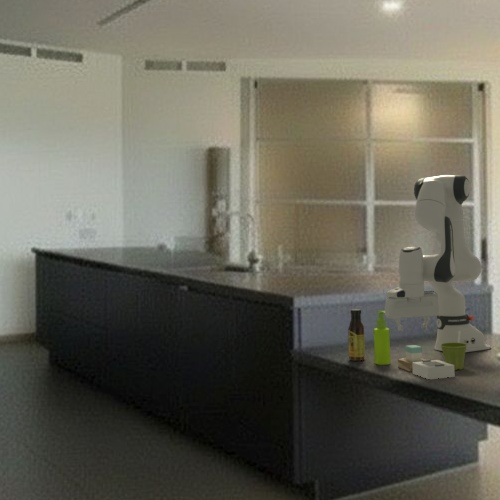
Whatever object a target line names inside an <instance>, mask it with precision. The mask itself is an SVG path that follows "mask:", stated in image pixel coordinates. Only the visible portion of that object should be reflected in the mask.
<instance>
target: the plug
mask: <svg viewBox="0 0 500 500" xmlns="http://www.w3.org/2000/svg"><path fill="white" fill-rule="evenodd" d="M404 349H405V350H404V352H405V358H406V360H407V361H410V362H417V361H422V358H423V348H422V346H419V345H416V344H412V345H405V348H404Z"/></svg>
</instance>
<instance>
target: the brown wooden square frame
mask: <svg viewBox="0 0 500 500" xmlns="http://www.w3.org/2000/svg"><path fill="white" fill-rule="evenodd" d="M422 360H427V359H425V358H423V357H422ZM417 362H421V361H417ZM397 366H398V368H399V369H402V370H405V371H407V372H413V367H412V362H410V361H407V360H406V357H403V358H398V359H397Z"/></svg>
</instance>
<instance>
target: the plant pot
mask: <svg viewBox="0 0 500 500" xmlns="http://www.w3.org/2000/svg"><path fill="white" fill-rule="evenodd" d="M440 346H441V347H442V350H443V351H442V355H443V362H446V363H449V364H452V365H454V371H456V370H463V369H464V365H465V357H466V356H465V355H466V352H465V350H466V347H467V344H465V343H443V344H440Z"/></svg>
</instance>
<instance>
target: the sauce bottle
mask: <svg viewBox="0 0 500 500" xmlns="http://www.w3.org/2000/svg"><path fill="white" fill-rule="evenodd" d="M361 315H362V309H360V308H352V309H350V323H349V325H348V329H347V333H348V334H347V337H348V338H347V341H348V342H347V343H348V344H347V345H348V360H349V361H353V362H360V361H361V360H362V361H364V360H365V356H366V352H365V351H366V350H365V326H364V324H363V323H362V318H361V317H362V316H361Z"/></svg>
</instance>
